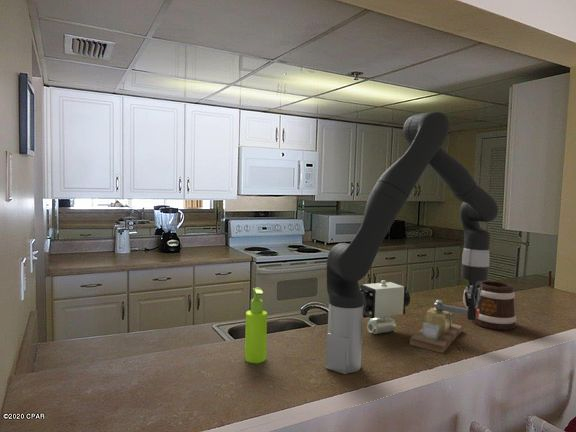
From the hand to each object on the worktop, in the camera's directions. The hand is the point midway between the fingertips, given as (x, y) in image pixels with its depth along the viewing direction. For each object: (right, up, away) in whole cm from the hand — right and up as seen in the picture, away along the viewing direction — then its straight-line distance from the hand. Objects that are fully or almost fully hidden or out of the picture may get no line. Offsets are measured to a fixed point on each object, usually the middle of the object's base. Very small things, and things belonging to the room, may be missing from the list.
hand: (471, 319), depth 124 cm
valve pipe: (-7, -6, +9) cm, 13 cm away
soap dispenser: (-65, -8, -12) cm, 67 cm away
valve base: (-7, -8, +9) cm, 14 cm away
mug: (+18, -8, +27) cm, 33 cm away
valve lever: (-3, 0, +6) cm, 6 cm away
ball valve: (-25, -8, +14) cm, 30 cm away
